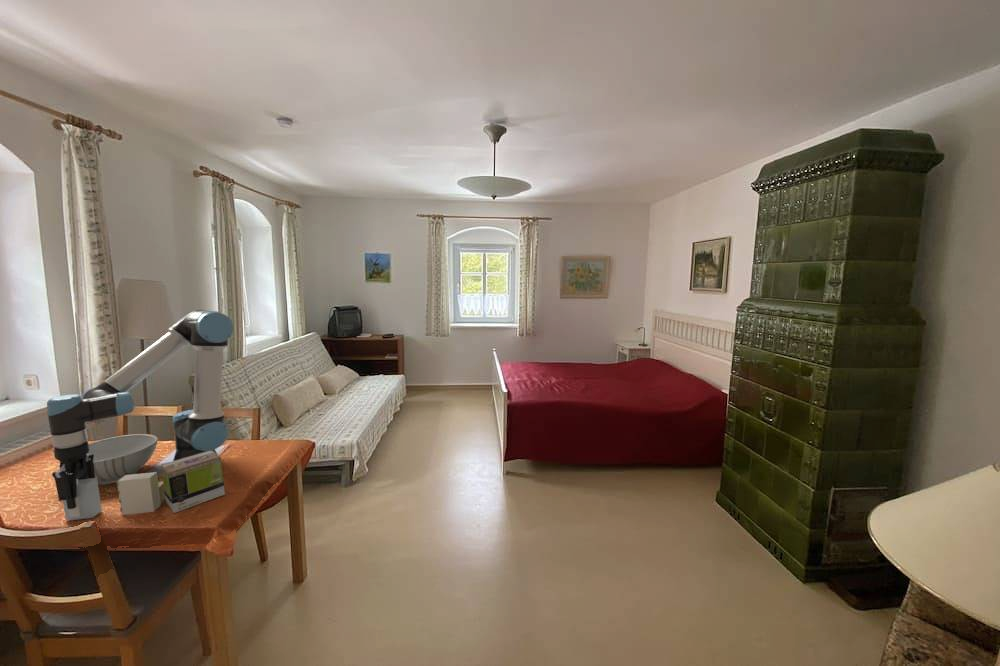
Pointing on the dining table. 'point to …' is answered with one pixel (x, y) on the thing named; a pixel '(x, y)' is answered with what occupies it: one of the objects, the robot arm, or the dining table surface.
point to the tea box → (192, 480)
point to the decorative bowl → (121, 456)
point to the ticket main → (140, 493)
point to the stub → (86, 499)
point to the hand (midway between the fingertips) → (81, 512)
